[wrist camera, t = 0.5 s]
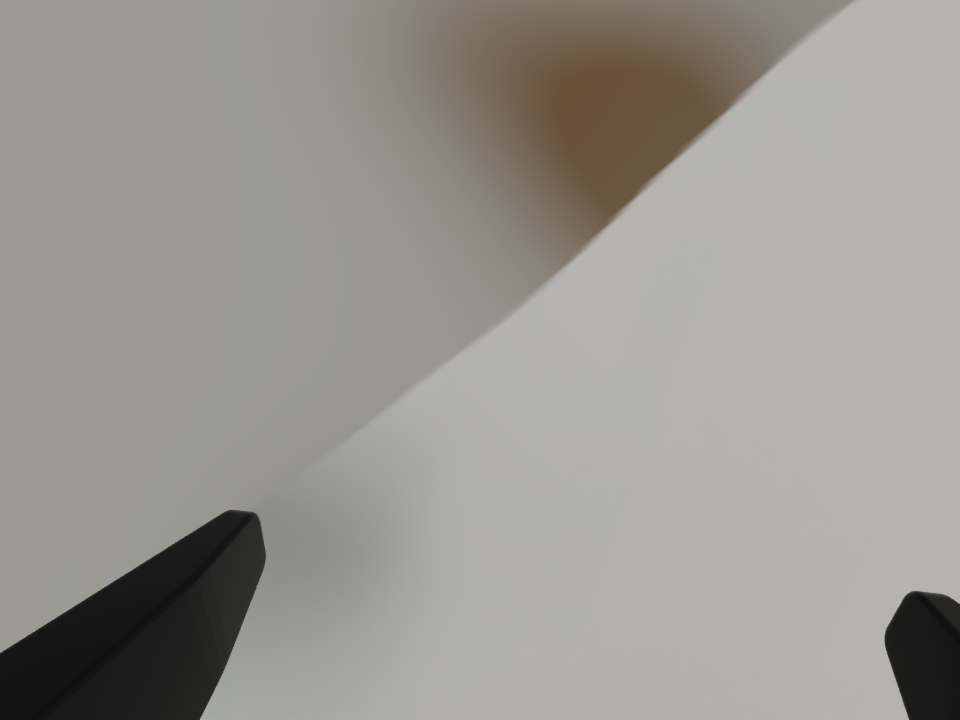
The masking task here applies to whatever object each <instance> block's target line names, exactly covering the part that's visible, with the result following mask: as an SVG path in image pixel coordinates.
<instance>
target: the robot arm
mask: <svg viewBox="0 0 960 720" xmlns="http://www.w3.org/2000/svg"><path fill="white" fill-rule="evenodd" d="M265 559H266V552H265V546H264V540H263V535H262V529H261V524H260V519H259V517H258V515H257V514H256V513H253V512H247V511H239V510H229V511H226V512H224V513H222V514H221V515H219V516H217V517H216V518H214V519H213V520H211V521H209V522H208V523H206V524H205V525H203V526H202V527H200V528H198V529H197V530H195V531H194V532H192V533H191V534H189V535H187V536H186V537H184V538H182V539H181V540H179V541H178V542H176V543H174V544H173V545H171V546H170V547H168V548H166V549H165V550H163V551H162V552H160V553H159V554H157V555H155V556H154V557H152V558H151V559H149V560H147V561H146V562H144V563H143V564H141V565H139V566H138V567H136V568H135V569H133V570H132V571H130V572H128V573H127V574H125V575H124V576H122V577H120V578H119V579H117V580H116V581H114V582H113V583H111V584H109V585H108V586H106V587H104V588H103V589H101V590H100V591H98V592H97V593H95V594H93V595H92V596H90V597H89V598H87V599H85V600H84V601H82V602H81V603H79V604H77V605H76V606H74V607H73V608H71V609H70V610H68V611H67V612H65V613H63V614H62V615H60V616H59V617H57V618H55V619H54V620H52V621H51V622H49V623H47V624H46V625H44V626H43V627H41V628H39V629H38V630H36V631H35V632H33V633H31V634H30V635H28V636H27V637H25V638H24V639H22V640H20V641H19V642H17V643H16V644H14V645H12V646H11V647H9V648H8V649H6V650H4V651H3V652H1V653H0V720H200V718H201V716H202V714H203V712H204V710H205V708H206V706H207V704H208V702H209V700H210V698H211V696H212V694H213V692H214V690H215V688H216V686H217V684H218V682H219V680H220V678H221V676H222V674H223V671H224V669H225V667H226V664H227V662H228V659H229V657H230V654H231V652H232V649H233V647H234V644H235V642H236V639H237V636H238V634H239V631H240V629H241V626H242V623H243V621H244V618H245V616H246V613H247V611H248V608H249V605H250V603H251V600H252V598H253V595H254V592H255V590H256V587H257V585H258V582H259V579H260V577H261V574H262V572H263V569H264V565H265ZM885 647H886V651H887V654H888V657H889V660H890V663H891V666H892V670H893V673H894V676H895V679H896V682H897V685H898V688H899V691H900V694H901V697H902V700H903V703H904V706H905V709H906V712H907V715H908V718H909V720H960V604H959V603H958V602H956V601H955V600H953V599H952V598H950V597H948V596H946V595H943V594H937V593H929V592H920V591H912V592H910V593H908V594H907V595H906V596H905V597H904V599H903V600H902V602H901V604H900V606H899V607H898V609H897V611H896V613H895V615H894V616H893V618H892V620H891V622H890V623H889V625H888V627H887V629H886V632H885Z"/></svg>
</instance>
